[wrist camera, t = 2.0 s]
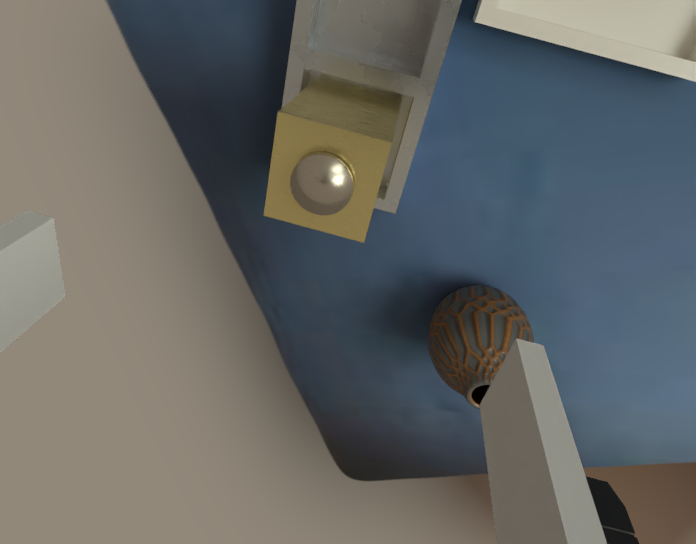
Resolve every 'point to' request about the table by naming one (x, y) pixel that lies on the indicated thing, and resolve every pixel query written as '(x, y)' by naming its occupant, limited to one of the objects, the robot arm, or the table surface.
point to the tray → (606, 28)
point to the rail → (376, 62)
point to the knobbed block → (331, 157)
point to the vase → (474, 338)
